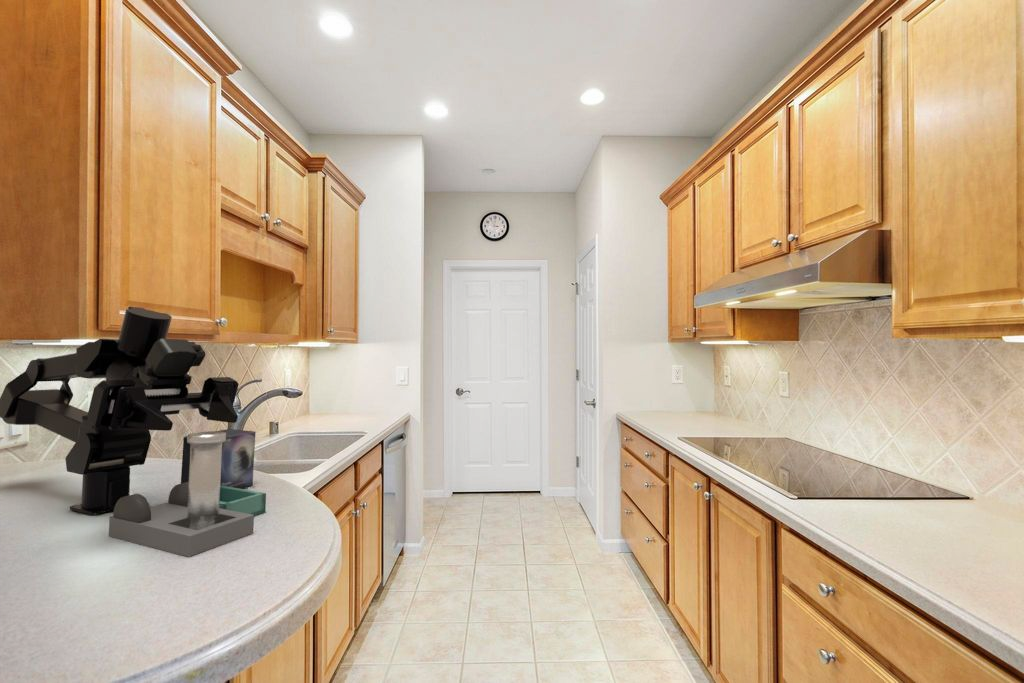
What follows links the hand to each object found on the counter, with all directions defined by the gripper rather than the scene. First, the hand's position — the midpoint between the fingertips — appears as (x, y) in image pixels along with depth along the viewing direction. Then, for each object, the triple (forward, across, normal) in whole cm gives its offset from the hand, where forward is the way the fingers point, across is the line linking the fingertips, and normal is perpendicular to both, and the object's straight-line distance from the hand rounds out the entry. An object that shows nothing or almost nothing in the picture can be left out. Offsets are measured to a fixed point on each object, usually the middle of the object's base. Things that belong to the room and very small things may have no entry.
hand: (205, 422), depth 68 cm
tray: (0, +6, +16) cm, 17 cm away
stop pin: (+7, -2, +13) cm, 15 cm away
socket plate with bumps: (+4, -2, +15) cm, 15 cm away
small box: (-11, +14, +20) cm, 27 cm away
